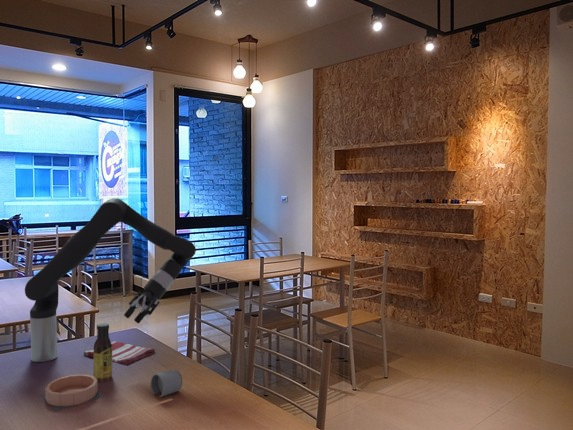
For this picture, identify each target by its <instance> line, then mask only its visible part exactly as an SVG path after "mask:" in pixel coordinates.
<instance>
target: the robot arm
mask: <svg viewBox="0 0 573 430" xmlns="http://www.w3.org/2000/svg"><path fill="white" fill-rule="evenodd" d="M119 223H123V224H124V225H127V226H129V227H131V228H132V229H133V230H135V231H136V232H138V233H139V234H140V235H141V236H142V237H143V238H144V239H146V240H147V241H148V242H150V243H152V244H153V245H155V246H157V247H159V248H161V249H163V250H166V251H167V250H168V251H171V252H172V254H171V255H170V257H169V258H168V259H167V260H166V261H165V262H164V263H163V264H162V266H161V267H160V268H159V269H158V270H157V271H156V272H155V273H154V275H152V277H150V279H149V280H148V282H147V283H145V285H144V287H143V290H144V292H143V293H141V291H139V292H137V294H135V295H134V297H133V298H132V299H131V300H130V301H129V303H128V305H129V308H127V310H126V311H125V313H124V314H123V317H125V318H127V319H130V318H131V316H132V315H133V314H134V313H135V311H136V310H137V309H141V311H139V313H138V314H137V315H136V316H135V317H134V319H133V321H134V322H135V323H136V324H140V323H141V322H142V320H143V319H144V318H145V317H146V316H151V315H152V314H153V312H154V311H155V309H156V308H157V307H158V305H160V301H159V300H160V299H162V297H163V296H164V295H165V293H166V292H168V290H169V288H170V287H171V285H172V284H173V283H174V281H175V280H176V279H177V278H178V276H179V274H180V273H181V271H182V270H183V269H184V267H185V266H187V264H188V263H189V261H191V259H193V257H195V254H196V252H197V248H196V245H195V244H194V243H193V242H191V241H190V240H188V239H186V238H184V237H182V236H178V235H176V234H174V233H172V232H171V231H168V230H167V229H165V228H163V227H162V226H160V225H157V224H156V223H155V222H152V221H151V220H149V219H148V218H146V217H144V216H143V215H142V214H141V213H139V212H137V211H136V210H135V209H134V208H132V207H131V206H130V205H129V204H128V203H126V202H125V201H123V200H122V199H120V198H118V197H117V198H115V197H113V198H109V199H107V200H106V201H104V202H103V203H102V204H101V205H99V207H98V209H97V210H96V211H95V214H94V215H93V216H92V217H91V218H90V220H89V221H88V222H87V223H86V224H85V225H84V226H83V227H82V228H80V229H79V230H77V232H75V234H74V235H72V236H71V237H70V238H69V239H68V240H67V241H66V242H65V243H64V244H63V246H62V247H61V248H60V249H59V250H58V251H57V252H56V254H55V255H54V256H53V257H52V258H51V259H50V260H49V262H48V263H47V264H46V265H45V266H44V267H43V268H42V269H41V270H40V271H38V272H37V273H35V275H33V277H31V278H30V279H29V280H28V281H27V282H26V284H25V288H24V294H25V297H26V298H27V299H29V300H30V301H34V304H33V306H32V307H31V309H30V310H29V320H30V321H29V322H30V323H29V324H30V325H29V326H30V356H31V358H30V359H31V361H32V362H34V363H35V362H36V363H43V362H49V361H52V360H56V358H58V334H57V333H58V328H57V327H58V326H57V323H58V322H57V309H58V307H59V293H60V292H59V283H58V282H59V280H60V279H62V278H63V277H64V276H66V275H67V274H68V273H70V272H71V271H72V270H74V269H75V268H77V267H78V266H79V265H80V264H81V263H83V262H84V261H85V259H87V258H88V256H89V255H90V254H91V253H92V252H93V250H94V249H95V247H97V244H98V243H99V242H100V240H101V239H102V237H104V236H105V234H107V233H108V232H109V231H110V230H111V229H112V228H113V227H116V225H118V224H119Z"/></svg>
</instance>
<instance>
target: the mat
mask: <svg viewBox="0 0 573 430" xmlns="http://www.w3.org/2000/svg"><path fill="white" fill-rule="evenodd" d="M40 397H41V398H42V399H43V400H44V401H45V402H46V403H47V401H46V399H45V393H42V394H40ZM102 398H105V396H104V395H103V394H102V393H101V392H99V391H98V390H97V394H96V396H95V397H94V398H92V399H91V400H89V401H87V402H85V403H84V404H86V403H88V402H92V401H96V400H99V399H102ZM48 405H49V406H50V408H51V409H52V410H53V411H54V412H56V413H57V412H59V411H63V410H65V409H68V408H72V407H75V406H79V405H80V404H78V405H74V406H67V407H57V406H52V405H50V404H48Z"/></svg>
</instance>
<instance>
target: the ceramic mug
mask: <svg viewBox="0 0 573 430" xmlns="http://www.w3.org/2000/svg"><path fill="white" fill-rule="evenodd" d="M182 385H183V377H182V374H181V373H180V372H179V371H178V370H177V369H170V370H167V371H162V372H158V373H154V374H152V376H151V379H150V388H151V389H150V390H151V392H152V394H153V395H156V394H158V393H161V395H160V396H159V398H163V397H166V396H169V395H171V394H174V393H176V392H178V391H180V390H181V388H182Z"/></svg>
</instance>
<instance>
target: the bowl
mask: <svg viewBox="0 0 573 430" xmlns="http://www.w3.org/2000/svg"><path fill="white" fill-rule="evenodd" d="M98 384H99V382H98V381H97V379H96V378H95V377H94V375H91V374H82V373H81V374H71V375H66V376H63V377H58V378H56V379H54V380H52V381H51V382H48V383H47V385H46V387H45V388H44V389H45V392H44V394H45V399H46V401H47V402H46V401H45V402H46V403H47V404H48V405H49V404H50V405H52V406H57V407H67V406H72V407H75V406H74V405H76V406H79V405H82V404H86V403H88V402H87V401H89V400H91V399H92V398H94V397H95V396H96V394H97V391H98ZM85 402H86V403H85ZM89 402H90V401H89ZM78 404H79V405H78ZM50 405H49V406H50Z"/></svg>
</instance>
